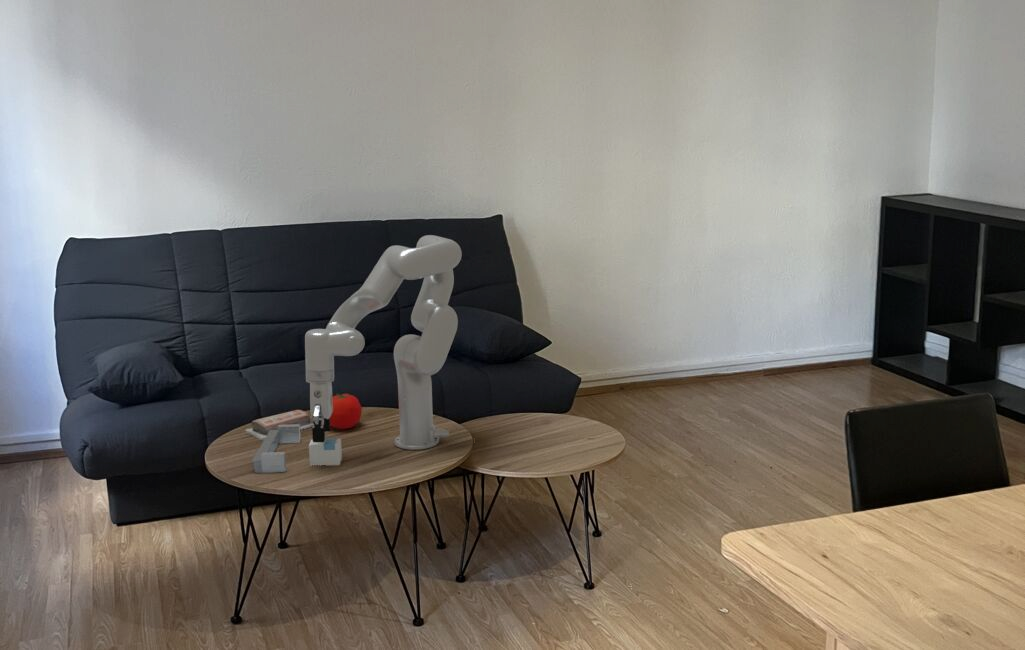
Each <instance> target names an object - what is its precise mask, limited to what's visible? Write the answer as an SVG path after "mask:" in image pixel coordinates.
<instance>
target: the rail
mask: <svg viewBox="0 0 1025 650" xmlns="http://www.w3.org/2000/svg"><path fill="white" fill-rule="evenodd" d="M301 437H302V436H301V431H300V424H292V425H279V426H278V430H270V431H269V433H268V435H267V436H266V438H265V439H264V440H262V443H261V444H260V446H259V447H258V449H257V451H256V453H255V454H254V456H253V458H252V459H251V463H253V465H254V473H255V474H264V473H265V474H266V473H268V474H270V473H273V474H274V473H286V471H287V461H286V460H287V459H286V452H285V451H276V450H277V447H278V445H279V443H280V444H300V443H301V441H302V438H301Z"/></svg>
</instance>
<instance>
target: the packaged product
mask: <svg viewBox="0 0 1025 650" xmlns="http://www.w3.org/2000/svg"><path fill="white" fill-rule="evenodd" d="M292 424H300V430H301V431H304V430H307V428H308V429H311V428H310V427H313V422H311V416H309V413H308V412H307V411H304V410H303V409H294V410H291V411H287V412H282V413H278V414H275V415H270V416H265V417H262V418H258V419H255V420H252V421H251V426H252V427H249V428H246V429H244V430H245V434H247V435H249V436H251V435H252V436H251V437H253V438H255V439H257V440H260V441H264V439H265V438H266V436H267V435H268V433H269V431H270V430H278V426H279V425H292ZM303 429H304V430H303Z"/></svg>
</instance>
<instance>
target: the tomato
mask: <svg viewBox="0 0 1025 650" xmlns="http://www.w3.org/2000/svg"><path fill="white" fill-rule="evenodd" d="M335 394H336V395H334V396H333V395H332V397H333V412H332V414H331V416H330V427H333V428H334V429H338V430H345V429H346V430H347V429H350V428H353V427H354V426H356V425H357V424H358V423H359V421H360V420H361V417H362V412H363V411H362V406H361V404H360V402H359V399H358V398H357V397H355V395H351V394H350V392H348V393H343V394H339V393H336V392H335Z"/></svg>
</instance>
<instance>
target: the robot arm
mask: <svg viewBox="0 0 1025 650" xmlns="http://www.w3.org/2000/svg"><path fill="white" fill-rule="evenodd" d="M462 255H463V254H462V249H461V247H460V245H459V243H457V242H456V241H454V240H453V239H450V238H447V237H442V236H440V235H439V236H438V235H433V234H428V235H423V236H421V237H420V238H419V239H418V241H417V243H416V247H408V246H403V245H398V244H397V245H396V244H395V245H391V246H389V247H388V248H387V249H386V250H385V251H383V253H382V254H381V256H380V258H379V259H378V261H377V263H376V264H375V265H374V267H373V269H372V270H371V272H370V273H369V275H368V277H367V278H366V279H365V281H364V282H363V285H361V287H360V288H359V289H358V290H357V291H355V292H354V293H353V294H352V295H350V297H348V298H347V299H346V300H345V301H344V302H343V303H342V304H341V305H340V306H339V307H338V309H337V310H336V311H335V313H334V314H333V315H332V317H331V318H330V320H329V322H328V323H327V325H326V327H325V328H313V329H312V328H311V329H309V330H308V331H306V333H305V335H304V350H305V351H304V354H305V355H304V358H305V359H304V360H305V382H306V383H309V405H310V406H309V408H310V409H309V410H310V419H312V424H313V427H312V429H311V430H312V432H311V433H312V435H311V436H312V439H313V442H324V441H325V439H326V434H325V433H326V432H330V431H331V425H330V416H331V414H332V412H333V385H332V382H334V381H335V357H336V356H337V357H353V356H354V357H355V356H356V355H359V353H361V352H362V351H363V349H364V348H365V344H366V343H365V337H364V336H363V334H362V333H361V332H360V331H359V330H357V329H356V327H357V325H358V324H359V323H360V322H361V321H362V320H363V318H365V317H366V316H368V315H369V314H370V313H373V312H376V311H378V310H381V309H382V308H384V307H386V306H388V305H389V303H390V302H391V300H392V298H393V297H394V295H395V294H396V292H397V291H398V289H399V288H400V286H401V284H402V283H403V281H404V280H408V281H414V280H419V279H423V281H422V285H421V288H420V291H419V294H418V296H417V298H416V301H415V304H414V306H413V309H412V312H411V314H410V321H411V325H412V326H413V327H414V328H415V329H416V330H417V331H420V332H421V336H420V335H416V334H411V333H410V334H405V335H403V336H401V337H400V338H398V340H397V341H396V343H395V345H394V347H393V360H394V366H395V369H396V370H395V371H396V376H397V377H396V378H397V392H398V393H397V394H398V396H397V397H398V399H397V400H398V415H399V417H398V418H399V421H398V422H399V436H397V437H395V439H394V444H395V446H396V447H398V448H400V449H403V450H413V451H414V450H415V451H416V450H417V451H418V450H425V449H431V448H433V447H436V446H437V445H438V444H439V443H440V438H449V437H450V430H446V429H445V428H441V429H438V428H435V426H436V425H435V423H434V418H433V417H434V416H433V388H432V387H433V386H432V385H433V383H432V377H431V376H433V375H435V374H436V373H438V372H439V371H440V370H441V369H442V367H443V366H444V364H445V362H446V360H447V357H448V354H449V352H450V349H451V346H452V344H453V342H454V339H455V336H456V333H457V331H458V324H459V320H458V315H457V313H456V310H454V308H453V307H451V306H450V305H449V302H450V298H451V295H452V292H453V288H454V283H455V279H454V278H455V276H454V270H453V269H454V268H456V267H457V266H458V265H459V263H460V261H462Z"/></svg>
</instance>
